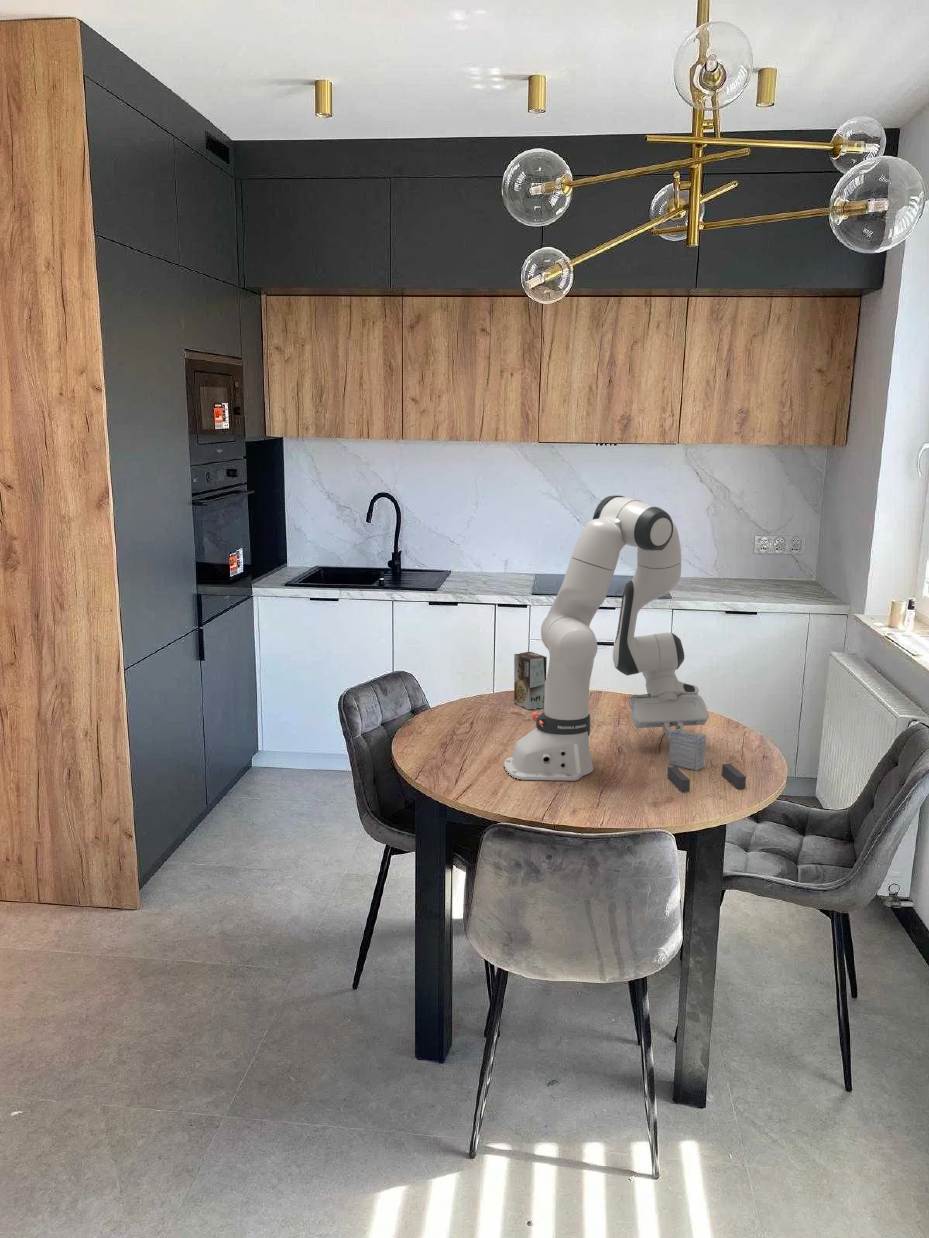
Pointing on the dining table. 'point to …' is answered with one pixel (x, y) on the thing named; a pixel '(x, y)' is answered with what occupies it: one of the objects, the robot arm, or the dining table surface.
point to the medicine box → (687, 749)
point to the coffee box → (529, 679)
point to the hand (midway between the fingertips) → (676, 739)
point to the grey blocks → (727, 772)
